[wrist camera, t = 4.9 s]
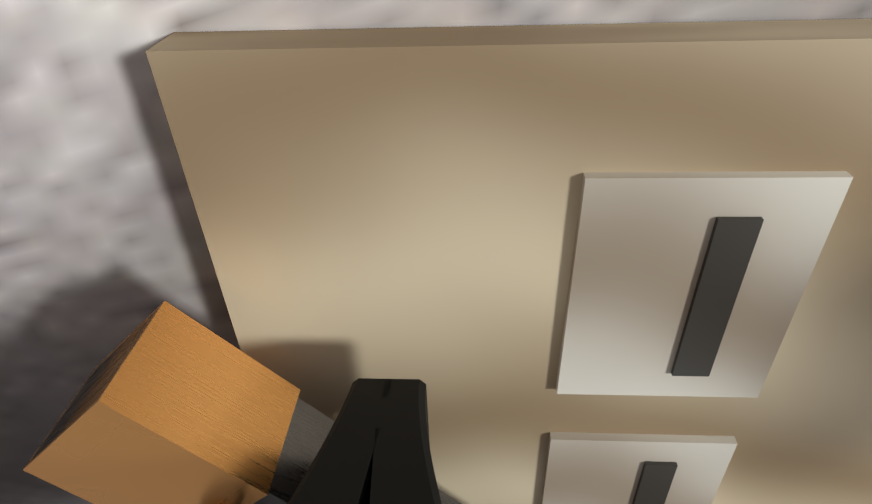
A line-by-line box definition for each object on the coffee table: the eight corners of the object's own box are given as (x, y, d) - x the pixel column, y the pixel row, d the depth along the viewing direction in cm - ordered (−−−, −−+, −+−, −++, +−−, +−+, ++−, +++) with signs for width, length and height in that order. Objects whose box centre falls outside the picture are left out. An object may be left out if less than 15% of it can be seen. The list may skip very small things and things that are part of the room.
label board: (820, 599, 19) (840, 644, 18) (330, 580, 20) (322, 622, 19) (1264, 11, 8) (1381, 37, 7) (173, 31, 9) (135, 58, 8)
